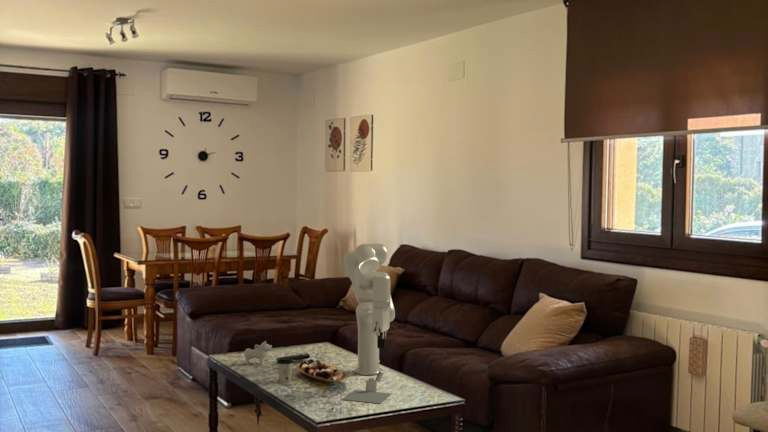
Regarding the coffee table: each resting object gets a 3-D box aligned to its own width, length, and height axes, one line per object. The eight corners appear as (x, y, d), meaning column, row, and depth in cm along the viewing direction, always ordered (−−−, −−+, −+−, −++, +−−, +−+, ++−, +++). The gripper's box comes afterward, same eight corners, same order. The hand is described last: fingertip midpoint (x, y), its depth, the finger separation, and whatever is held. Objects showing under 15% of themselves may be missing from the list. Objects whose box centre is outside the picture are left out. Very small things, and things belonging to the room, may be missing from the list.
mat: (354, 390, 314) (354, 389, 314) (391, 394, 309) (391, 393, 309) (341, 399, 301) (341, 399, 301) (380, 404, 296) (380, 403, 296)
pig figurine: (272, 365, 356) (271, 342, 355) (244, 365, 354) (244, 343, 354) (272, 362, 361) (272, 340, 361) (244, 363, 360) (244, 340, 359)
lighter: (367, 391, 311) (368, 371, 311) (365, 391, 312) (366, 371, 313) (382, 391, 314) (383, 371, 315) (381, 390, 316) (381, 370, 316)
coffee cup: (290, 384, 324) (290, 360, 323) (274, 383, 325) (274, 360, 324) (295, 379, 330) (295, 357, 330) (280, 379, 332) (280, 356, 331)
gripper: (379, 301, 328) (379, 343, 328) (366, 306, 313) (366, 350, 314) (395, 302, 325) (395, 345, 326) (384, 307, 311) (384, 352, 312)
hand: (381, 347), depth 320 cm, fingers closed
